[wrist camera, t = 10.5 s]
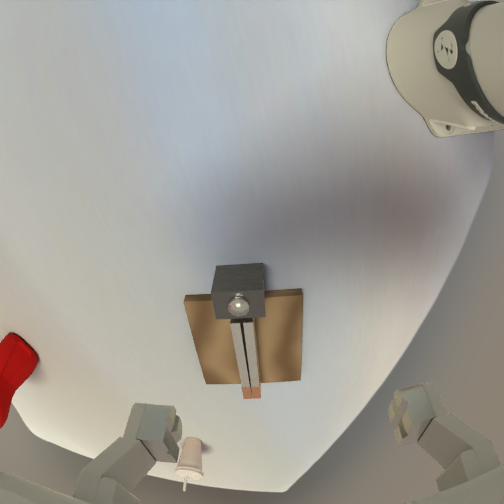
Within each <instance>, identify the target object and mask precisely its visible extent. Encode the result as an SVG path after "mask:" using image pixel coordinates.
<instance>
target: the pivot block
mask: <svg viewBox="0 0 504 504" xmlns="http://www.w3.org/2000/svg"><path fill="white" fill-rule="evenodd" d="M211 296H212V301H213V306H214V312H215V317H216V319H239V318H258V317H266V312H265V288H264V274H263V263H256V264H241V265H225V266H216V270H215V275H214V280H213V285H212V290H211Z"/></svg>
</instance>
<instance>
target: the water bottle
mask: <svg viewBox="0 0 504 504" xmlns="http://www.w3.org/2000/svg"><path fill="white" fill-rule="evenodd" d="M37 361H38V358H37V356H36V354H35V352H34V351H33V350H32V349H31V348H30V347H29V346H28V345H27V344H26V343H25V342H24V341H23V340H22V339H21V338H20V337H19V336H17V335H14V334H9V335H7V336H5V338H4V339H3V340H2V341H1V343H0V428H1V427H3V425H4V423H5V421H6V420H7V417H8V413H9V408H10V405H11V401H12V397H13V395H14V393H15V391H16V390H17V389H18V388H19V387H20V386H21V385H22V384H23V383H24V381H25V380H26V379H27V378H28V377H29V376H30V375H31V374H32V372H33V371H34V369H35V368H36V365H37Z"/></svg>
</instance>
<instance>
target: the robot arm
mask: <svg viewBox="0 0 504 504" xmlns="http://www.w3.org/2000/svg"><path fill="white" fill-rule="evenodd" d="M386 54H387V63H388V67H389V71H390V74H391V77H392V79H393V82H394V84H395V86H396V87H397V89H398V91H399V92H400V94H401V95H402V96H403V98H404V99H405V100H406V101H407V102H408V103H409V104H410V105H411V106H412V107H413V108H414V109H415V110H417V111H418V112H419V113H420V114H421V115H422V116H423V117H424V119H425V121H426V123H427V125H428V127H429V129H430V131H431V132H432V134H433V135H435V136H437V137H449V136H456V135H463V134H471V133H479V132H487V131H496V130H504V2H496V1H476V2H472V3H471V2H469V1H467V0H421V1H420V3H419V4H418V6H417V8H416V9H415V10H413V11H412V12H409V13H407V14H405V15H404V16H402V17H401V18H400V19H399V20H397V22H396V23H395V24H394V25H393V27H392V29H391V31H390V33H389V36H388V40H387V48H386ZM446 125H448V129H446ZM394 398H395V399H394V400H393V401H391V403H390V406H389V419H390V422H391V424H392V425H393V426H395V427H396V429H395V432H394V436H395V439H396V442H397V445H398V447H399V446H402V445H407V444H412V443H416V442H417V443H418V444H419V445H420V446H421V447H422V448H423V449H424V450H425V451H426V452H427V453H428V454H429V455H430V456H431V457H432V458H434V459H435V460H436V461H437V462H438V463H439V464H440V465H441V466H442V467H443V468H444V469H445V471H444V472H443V473H442V474H441V475H440V476H439V477H438V478H437V480H436V482H437V486H438V489H439V493H436V494H433V495H430V496H428V497H425V498H422V499H418V500H415V501H412V502H409V503H405V504H504V464H502V465H501V463H500V461H499V459H498V456H497V454H496V451H495V449H494V447H493V444H492V442H491V440H490V439H488V438H487V437H486V436H484V435H483V434H481V433H480V432H478V431H477V430H475V429H474V428H472V427H471V426H470V425H468V424H467V423H465V422H463V421H462V420H461V419H459V418H458V417H456V416H455V415H453V414H452V413H449V414H448V413H447V410H446V408H445V406H444V403H443V401H442V399H441V397H440V395H439V393H438V391H437V389H436V386H435V384H434V383H433V382H428V383H424V384H419V385H415V386H410V387H406V388H402V389H398V390H396V391H395V393H394ZM181 436H182V423H181V420H180V417H178V416H177V415H176V409H175V407H174V406H167V405H153V404H143V403H135V404H134V405H133V407H132V410H131V413H130V416H129V419H128V423H127V426H126V429H125V433H124V436H123V437H119V438H118V439H117V440H116V441H115V442H114V443H112V444H111V445H110V446H109V447H108V448H107V449H105V450H104V451H103V452H102V453H101V454H100V455H98V456H97V457H96V458H95V459H94V460H92V461H91V462H90V463H89V464H88V465H87V466H85V467H84V468H83V469H82V470H81V472H80V475H79V479H78V482H77V485H76V489H75V491H74V495H73V497H70V496H68V495H65V494H62V493H59V492H56V491H54V490H51V489H48V488H46V487H44V486H41V485H38V484H36V483H34V482H32V481H29V480H27V479H25V478H23V477H20V476H18V475H16V474H14V473H12V472H9V471H3V472H1V473H0V504H140V503H141V502H140V501H139V499H137V498H136V497H135V496H134V495H132V494H131V493H130V492H131V490H132V489H133V488H134V487H135V486H136V485H137V484H138V482H140V480H141V479H142V478H143V477H144V476H145V475H146V474H147V473H148V471H149V470H150V469H151V468H152V467H153V466H154V465H155V463H156V461H160V462H172V463H177V460H178V454H179V447H178V445H177V442H178V441H179V440H180V439H181Z"/></svg>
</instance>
